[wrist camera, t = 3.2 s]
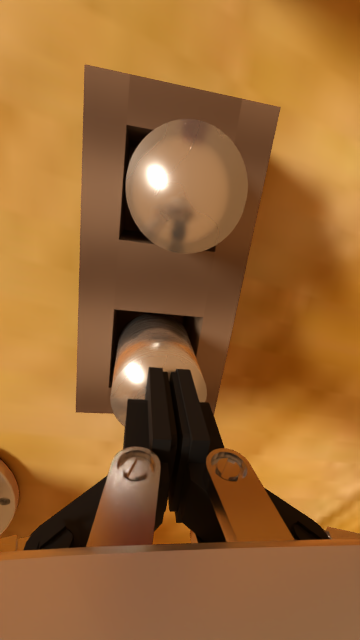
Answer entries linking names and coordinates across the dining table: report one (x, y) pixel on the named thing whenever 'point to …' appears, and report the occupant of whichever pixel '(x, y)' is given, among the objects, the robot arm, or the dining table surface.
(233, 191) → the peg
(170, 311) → the walnut block
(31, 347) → the dining table surface
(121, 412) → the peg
